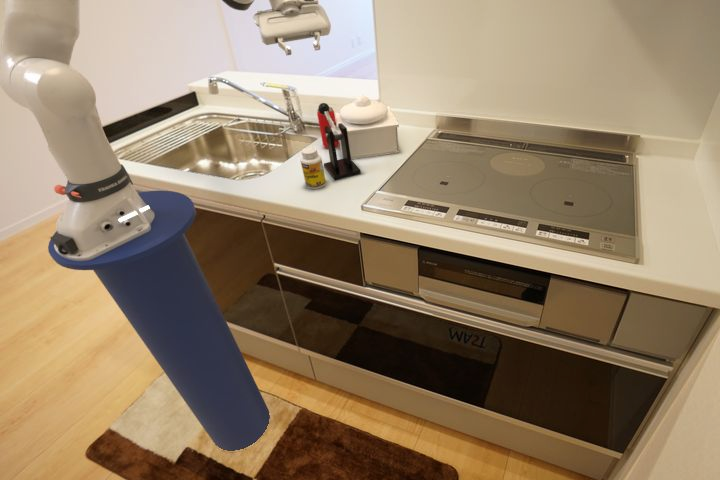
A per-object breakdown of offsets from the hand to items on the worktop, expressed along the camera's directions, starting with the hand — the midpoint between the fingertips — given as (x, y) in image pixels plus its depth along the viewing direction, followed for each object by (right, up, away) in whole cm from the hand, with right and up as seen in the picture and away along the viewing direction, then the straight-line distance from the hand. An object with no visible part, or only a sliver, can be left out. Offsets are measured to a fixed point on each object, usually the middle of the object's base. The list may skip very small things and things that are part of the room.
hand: (303, 51), depth 118 cm
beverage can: (+5, -23, +16) cm, 28 cm away
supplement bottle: (+4, -39, -4) cm, 40 cm away
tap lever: (+8, -22, -1) cm, 23 cm away
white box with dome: (+17, -23, +15) cm, 32 cm away
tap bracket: (+11, -34, +2) cm, 35 cm away
